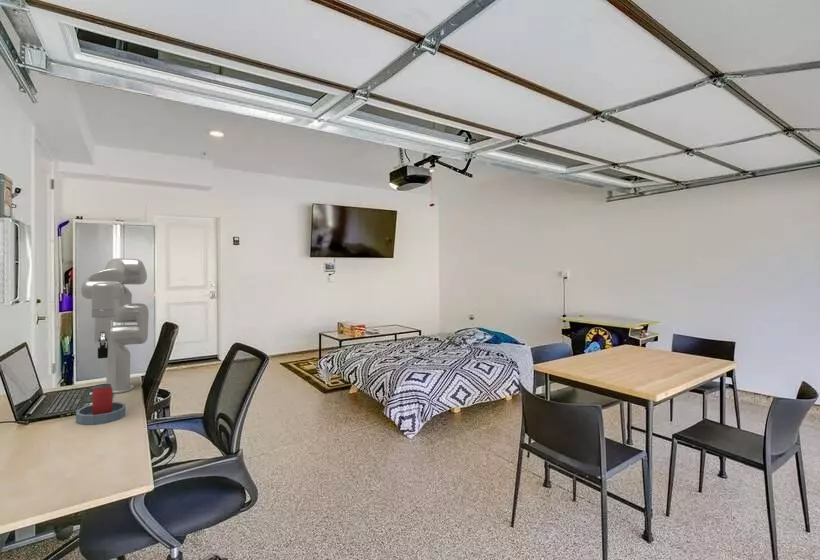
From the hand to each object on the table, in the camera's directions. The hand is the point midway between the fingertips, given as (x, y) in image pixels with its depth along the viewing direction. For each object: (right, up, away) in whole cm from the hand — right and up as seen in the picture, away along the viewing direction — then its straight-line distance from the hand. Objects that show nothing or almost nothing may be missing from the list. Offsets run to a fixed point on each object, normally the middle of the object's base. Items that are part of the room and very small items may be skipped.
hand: (102, 355), depth 171 cm
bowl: (0, -25, -1) cm, 25 cm away
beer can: (0, -24, -1) cm, 24 cm away
